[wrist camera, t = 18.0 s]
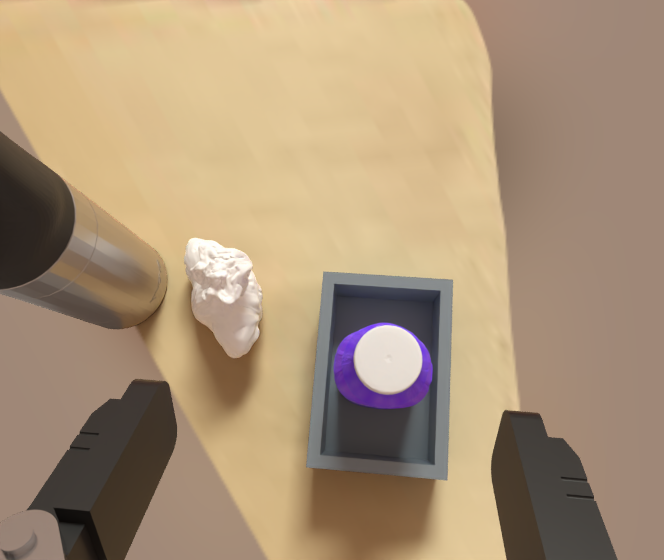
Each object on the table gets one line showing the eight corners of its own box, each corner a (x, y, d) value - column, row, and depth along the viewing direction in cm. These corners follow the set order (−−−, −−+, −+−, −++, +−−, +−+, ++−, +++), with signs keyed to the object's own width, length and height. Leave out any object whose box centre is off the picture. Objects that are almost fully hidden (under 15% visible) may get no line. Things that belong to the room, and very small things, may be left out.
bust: (264, 358, 52) (319, 309, 44) (195, 383, 47) (242, 334, 39) (216, 255, 55) (259, 191, 47) (146, 269, 50) (180, 201, 42)
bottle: (421, 349, 48) (451, 315, 31) (417, 413, 47) (446, 414, 30) (342, 341, 49) (330, 304, 32) (335, 404, 48) (319, 400, 31)
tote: (313, 460, 47) (306, 467, 42) (328, 287, 51) (323, 271, 45) (437, 471, 47) (447, 480, 41) (442, 294, 50) (452, 279, 45)
